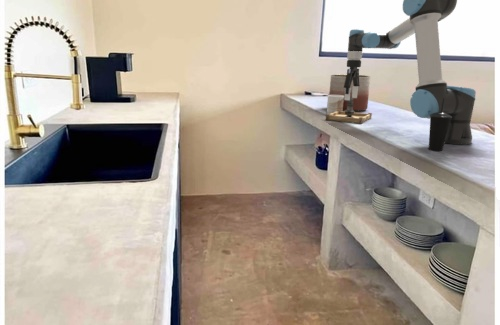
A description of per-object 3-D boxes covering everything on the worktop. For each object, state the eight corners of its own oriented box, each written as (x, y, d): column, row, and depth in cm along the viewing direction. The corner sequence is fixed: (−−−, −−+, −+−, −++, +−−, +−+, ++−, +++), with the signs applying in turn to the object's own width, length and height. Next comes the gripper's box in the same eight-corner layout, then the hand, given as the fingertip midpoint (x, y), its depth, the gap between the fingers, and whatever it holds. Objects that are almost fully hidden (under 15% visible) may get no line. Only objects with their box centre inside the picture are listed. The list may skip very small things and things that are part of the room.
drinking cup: (423, 150, 144) (430, 98, 138) (426, 146, 150) (434, 96, 144) (444, 153, 140) (453, 100, 134) (447, 149, 146) (456, 98, 140)
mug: (322, 113, 231) (323, 95, 228) (334, 111, 238) (335, 93, 235) (336, 115, 223) (338, 96, 220) (347, 113, 231) (349, 95, 228)
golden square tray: (361, 123, 197) (362, 117, 196) (325, 119, 207) (326, 114, 206) (371, 118, 213) (371, 113, 212) (337, 115, 223) (338, 109, 222)
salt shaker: (353, 118, 206) (355, 97, 203) (343, 117, 208) (344, 96, 205) (354, 117, 211) (356, 95, 208) (344, 116, 213) (346, 95, 210)
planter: (361, 113, 231) (364, 77, 224) (322, 110, 243) (324, 75, 237) (371, 108, 252) (374, 75, 245) (335, 105, 264) (337, 74, 258)
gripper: (354, 59, 189) (350, 101, 195) (367, 59, 209) (363, 97, 215) (340, 59, 192) (336, 100, 198) (354, 59, 213) (350, 96, 219)
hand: (350, 99), depth 207 cm, fingers open, 13 cm apart
